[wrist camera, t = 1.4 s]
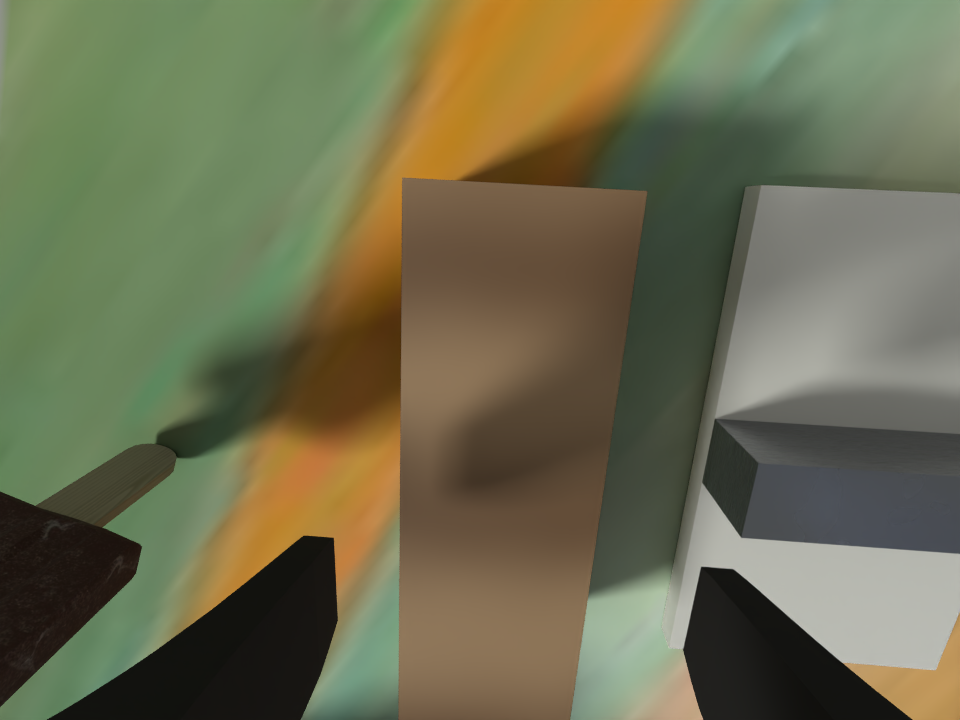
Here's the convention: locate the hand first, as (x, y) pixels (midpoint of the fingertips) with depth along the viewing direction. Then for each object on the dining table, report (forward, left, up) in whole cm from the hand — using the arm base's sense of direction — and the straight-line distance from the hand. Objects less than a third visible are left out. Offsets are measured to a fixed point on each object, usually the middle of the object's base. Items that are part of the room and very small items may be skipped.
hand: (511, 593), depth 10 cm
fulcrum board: (0, -12, -8) cm, 14 cm away
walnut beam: (0, 0, -9) cm, 9 cm away
